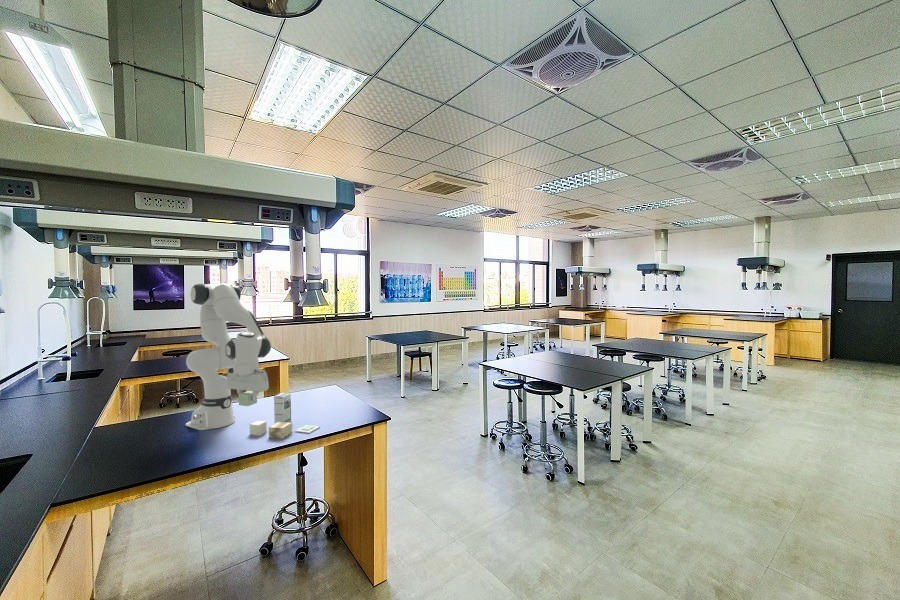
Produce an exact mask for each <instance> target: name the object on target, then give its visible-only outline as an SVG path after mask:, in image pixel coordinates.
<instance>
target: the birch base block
mask: <svg viewBox="0 0 900 600" xmlns="http://www.w3.org/2000/svg"><path fill="white" fill-rule="evenodd" d="M292 425H293V424H292V422H291V421H289V422H277V423H275V422H274V424H272V425H270V426H269V427H268V438H269V437H275V438H274V439H284V438H286V437H287V436H289V435H291V434H292V433H293V430H292V429H293V427H292ZM291 432H292V433H291ZM288 434H289V435H288ZM285 436H286V437H285Z"/></svg>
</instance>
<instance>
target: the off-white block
mask: <svg viewBox="0 0 900 600" xmlns="http://www.w3.org/2000/svg"><path fill="white" fill-rule="evenodd" d="M267 430H268V429H267V421H265V420H264V421H262V420H256V421H254V422H252V423H250V424H249V435H250V434H253V435H252V436H257V435H259V436H261V435H263V434H264V432H265V433H267V432H266V431H267ZM262 433H263V434H262ZM260 434H261V435H260Z"/></svg>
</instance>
